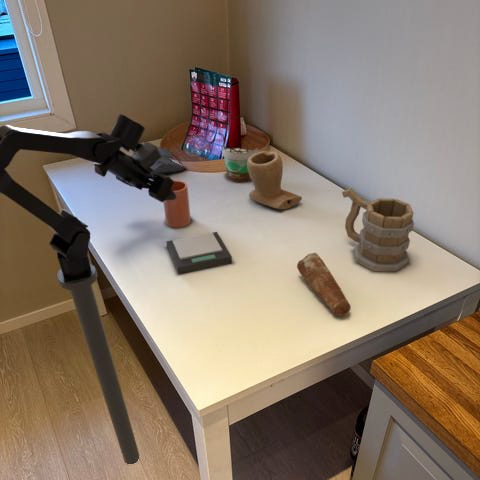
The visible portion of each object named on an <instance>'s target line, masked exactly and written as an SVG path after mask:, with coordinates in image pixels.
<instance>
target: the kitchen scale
mask: <svg viewBox="0 0 480 480" xmlns="http://www.w3.org/2000/svg"><path fill="white" fill-rule="evenodd" d="M223 241H224V240H222V238H221V236H220V234H219V233H218V231H213V232H208V233H203V234H198V235H193V236H188V237H187V236H186V237H181V238H177V239H172V240H166V241H165V242H166V248H167V250H168V253H169V256H170V258H171V260H172V263H173V265H174V267H175V271H176V273H177V274H178V275H182V274H187V273H190V272H196V271H201V270H206V269H209V268H216V267H219V266H225V265H229V264H232V262H233V259H232V255H231V253H230V252H229V250H228V248H227V246H226V245H225V243H224V242H223Z"/></svg>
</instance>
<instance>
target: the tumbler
mask: <svg viewBox="0 0 480 480" xmlns="http://www.w3.org/2000/svg"><path fill="white" fill-rule="evenodd" d="M171 189H172V190H173V192H174V193H175V195H176V196H177V197H176V199H175V200H165V201H164V202H162V203H163V210H164V217H165V224H166V225H167V226H168V227H170V228H173V229H174V228H175V229H180V228H181V229H182V228H184V227H188V225H190V223H191V220H192V219H191V210H190V209H191V208H190V199H189V190H188V184H187V183H186V182H185V181H182V180H174V184H173V186H172V188H171Z"/></svg>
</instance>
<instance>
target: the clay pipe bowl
mask: <svg viewBox="0 0 480 480" xmlns="http://www.w3.org/2000/svg"><path fill="white" fill-rule="evenodd" d="M283 168H284V166H283V159H282V157H281V156H280V154H279V153H278V152H276V151H268V150H261V151H259V152H258V153H255V154H253V155H252V156H250V157H249V159H248V161H247V169H248V172H249V175H250V178H251V180H250V181H251V182H252V184H253V186H254V189H253V190H252V191H250V192H249V194H248V197H249V199H251V200H252V201H254V202H255V203H259V204H261V205H263V206H267V207H270V208H273V209H276V210H287V209H290V208H292V207H294V206H296V205H298V204H299V203H300V202H301V201H302V199H303V196H301V195H298V194H295V193H293V192H290V191H289V190H285V189H282V187H281V186H282V179H283V171H284V170H283Z"/></svg>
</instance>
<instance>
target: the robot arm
mask: <svg viewBox="0 0 480 480" xmlns="http://www.w3.org/2000/svg"><path fill="white" fill-rule="evenodd" d="M145 130H146V127H144V126H143V125H142V124H141V123H139V122H138V121H137V122H136V121H134V120H133V119H131V118H130V117H128V116H127V115H124V114H122V113H118V116H117V118H116V122H115V124H114V126H113V127H112V130H111V132H110V133H107V132H104V131H101V132H95V133H94V132H92V131H90V130H83V131H82V130H79V131H71V132H67V133H61V132H60V133H59V132H52V131H45V130H37V129H31V128H30V129H28V128H22V127H15V126H12V125H8V124H3V125H2V126H0V194H2V195H4V196H6V197H7V198H8V199H9V200H11V201H13V202H14V203H15V204H17V205H18V206H20V207H21V208H23V209H24V210H26V211H27V212H28V213H29V214H31V215H33V216H34V217H36V218H37V219H38V220H40V221H41V222H43V223H44V224H45V225H46V226H47V227H48V228H49V230H50V231H51V232H52V233H53V235H52V237H51V239H50V241H49V243H48V244H49V246H50V247H51V249H53V250H54V251H55V252H56V255H57V260H58V264H59V267H60V269H61V270H62V273H63V280H64V282H68V281H73V280H78V279H83V278H88V277H90V276H91V275H90V271H91V265H90V263H91V262H90V259H89V244H90V243H89V242H90V241H91V234H92V233H91V231H90V230H89V229H88V228H89V225H88V224H86V223H84V222H83V221H81V220H80V219H79V218H78V217H77V216H76V215H74V214H72V213H71V212H69V211H68V210H66V209H65V208H62V210H61V212H58V211H56V210H54V209H53V208H52V207H51V206H49V205H48V204H46V203H45V202H43V201H42V200H41V199H40V198H38V197H37V196H36V195H34V194H33V193H32V192H30V191H29V190H27V189H26V188H25V187H23V186H22V185H20V184H19V183H18V182H17V181H16V180H14V178H12V176H11V175H10V174H9V172H8V171H7V170H6V169H7V168H8V167H9V165H10V164H11V162H13V160H14V157H15V156H16V154H17V153H18V152H20V150H21V151H32V152H41V153H53V154H60V155H61V154H62V155H70V156H74V157H77V158H79V159H83V160H85V161H88V162H92V163H93V167H94V173H95V174H97V175H99V176H101V177H103V178H105V177H106V175H107V173H108V172H109V173H111V174H112V175H114V176H115V179H116V180H118V181H119V182H121V183H122V184H125V185H127V186H130V187H132V188H136V189H137V190H140V191H142V190H143V189H145V190H146V189H147V190H148V191H147V193H148V196H149V197H151V198H153V199H154V200H156V201H159V202H160V203H163V202H164V201H165V200H175V199H176V197H177V196H176V195H175V193H174V192H173V190H172V189H171V188H172V186H173V184H174V181H175V180H174V179H173V178H171V177H170V176H167V175H165V174H164V173H159V174H156V175H155V176H154V175H153V174H151V173H152V171H153V169H152V168H150V167H151V166H153V165H154V164H155V163H156V161H157V160H158V159H160V158H161V156H162V155H161V154H160V152H159V150H158V149H157V147H158V146H157V145H155V144H154V143H151V142H148V141H146V142H145V141H142V144H140V143H141V142H140V140H141V138H142V137H143V134H144V132H145ZM156 146H157V147H156ZM121 149H122V150H121ZM124 151H125V152H130V151H132V155H133V157H131V156H132V155H128V154H126V153H125V152H124Z"/></svg>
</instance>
